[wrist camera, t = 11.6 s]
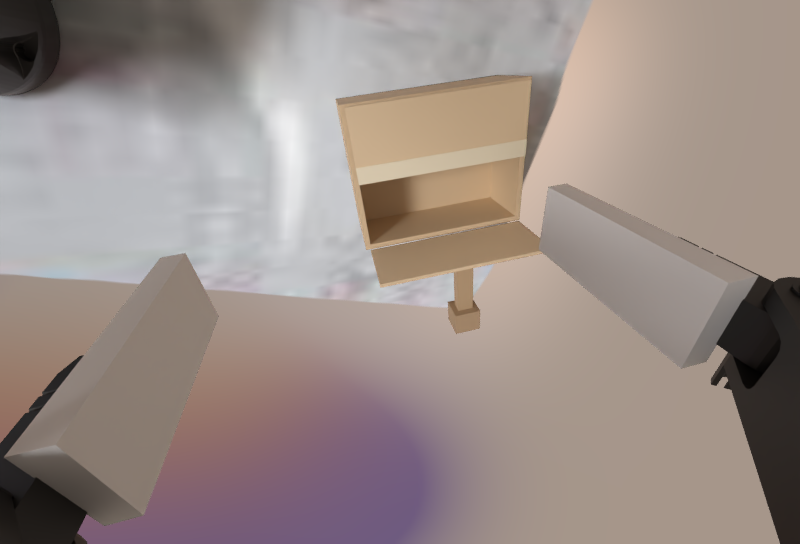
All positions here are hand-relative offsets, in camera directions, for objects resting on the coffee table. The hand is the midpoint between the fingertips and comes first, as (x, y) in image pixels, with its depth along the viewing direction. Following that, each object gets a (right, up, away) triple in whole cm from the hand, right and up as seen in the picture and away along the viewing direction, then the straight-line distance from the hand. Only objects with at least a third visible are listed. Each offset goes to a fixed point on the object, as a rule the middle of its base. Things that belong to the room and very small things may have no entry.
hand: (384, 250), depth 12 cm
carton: (+4, +15, +32) cm, 35 cm away
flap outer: (+7, +2, +25) cm, 26 cm away
